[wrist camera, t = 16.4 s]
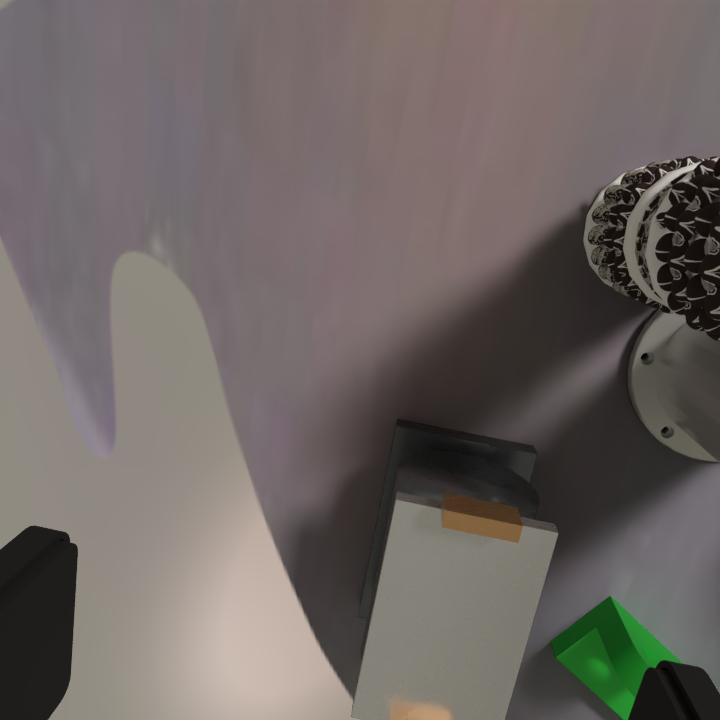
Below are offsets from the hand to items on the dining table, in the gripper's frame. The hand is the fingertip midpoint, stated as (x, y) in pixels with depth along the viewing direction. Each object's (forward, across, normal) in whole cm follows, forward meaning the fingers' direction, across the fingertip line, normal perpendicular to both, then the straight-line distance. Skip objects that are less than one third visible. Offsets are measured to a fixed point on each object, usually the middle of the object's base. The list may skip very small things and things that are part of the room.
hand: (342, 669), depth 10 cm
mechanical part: (+35, -23, +24) cm, 48 cm away
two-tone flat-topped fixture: (+34, -6, +16) cm, 38 cm away
